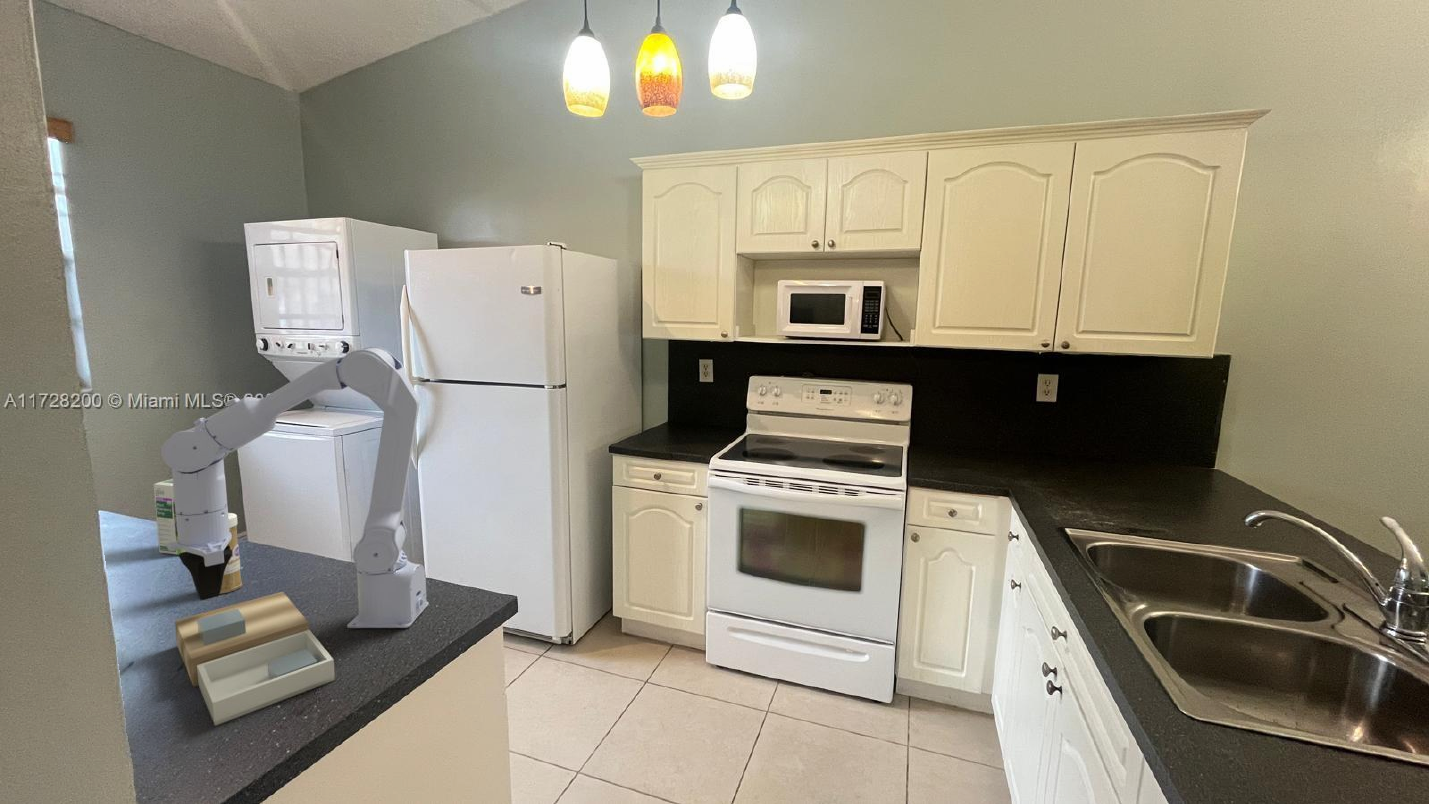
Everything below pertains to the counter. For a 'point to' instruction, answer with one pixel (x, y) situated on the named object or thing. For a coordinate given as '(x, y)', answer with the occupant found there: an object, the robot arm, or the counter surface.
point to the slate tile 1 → (221, 626)
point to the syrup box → (166, 515)
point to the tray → (260, 677)
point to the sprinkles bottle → (232, 560)
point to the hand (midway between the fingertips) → (209, 596)
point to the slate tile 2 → (290, 663)
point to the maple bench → (262, 624)
